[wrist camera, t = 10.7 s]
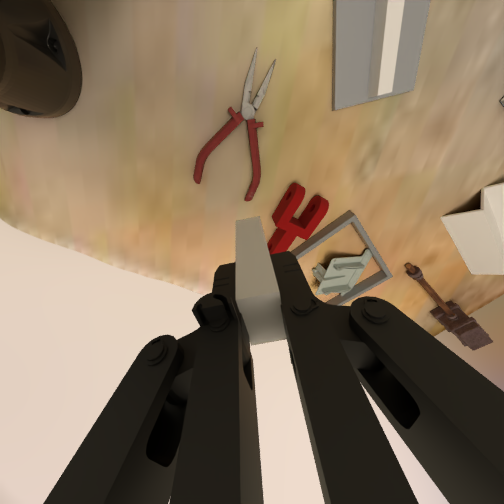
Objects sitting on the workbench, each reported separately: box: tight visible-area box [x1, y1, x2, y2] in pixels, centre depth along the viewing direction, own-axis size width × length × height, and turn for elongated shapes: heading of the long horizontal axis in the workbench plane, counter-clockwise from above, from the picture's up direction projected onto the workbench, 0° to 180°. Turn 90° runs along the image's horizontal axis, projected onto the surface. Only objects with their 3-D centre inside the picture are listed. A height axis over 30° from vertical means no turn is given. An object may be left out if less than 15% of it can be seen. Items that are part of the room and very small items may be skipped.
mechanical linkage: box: [267, 183, 329, 254], centre depth 39 cm, size 16×7×5 cm, turn 153°
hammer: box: [405, 263, 493, 350], centre depth 54 cm, size 7×33×10 cm, turn 48°
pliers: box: [194, 47, 276, 201], centre depth 31 cm, size 12×20×3 cm, turn 158°
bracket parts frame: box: [291, 210, 393, 306], centre depth 48 cm, size 22×22×2 cm
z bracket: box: [440, 182, 504, 275], centre depth 44 cm, size 12×25×6 cm
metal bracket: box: [313, 249, 372, 296], centre depth 49 cm, size 14×6×15 cm
